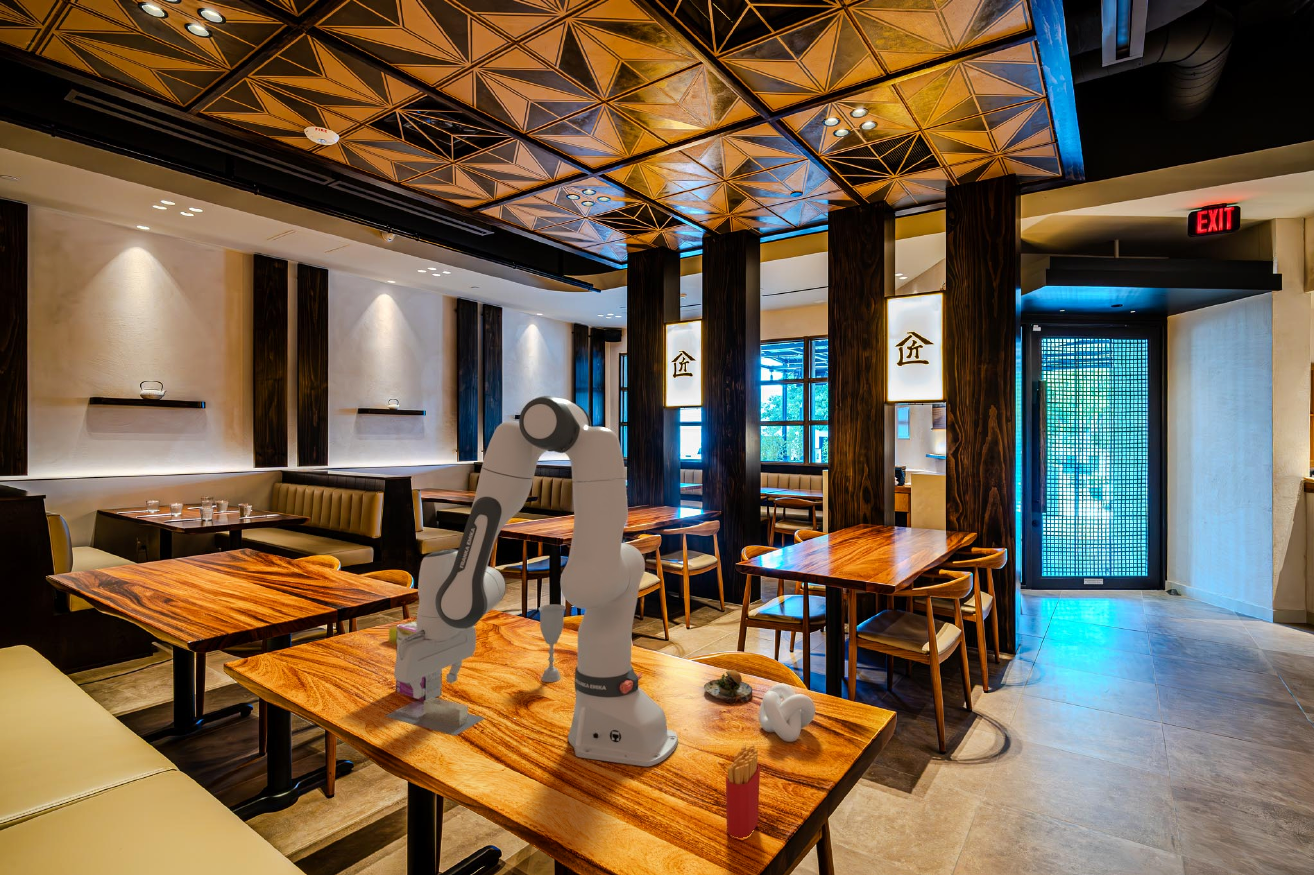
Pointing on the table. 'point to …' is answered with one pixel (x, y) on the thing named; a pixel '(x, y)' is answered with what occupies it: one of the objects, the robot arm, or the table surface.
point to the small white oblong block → (437, 711)
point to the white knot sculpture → (785, 712)
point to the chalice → (551, 635)
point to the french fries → (743, 793)
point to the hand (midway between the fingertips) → (435, 689)
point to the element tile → (395, 632)
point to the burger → (730, 688)
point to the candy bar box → (429, 682)
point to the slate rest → (437, 722)
